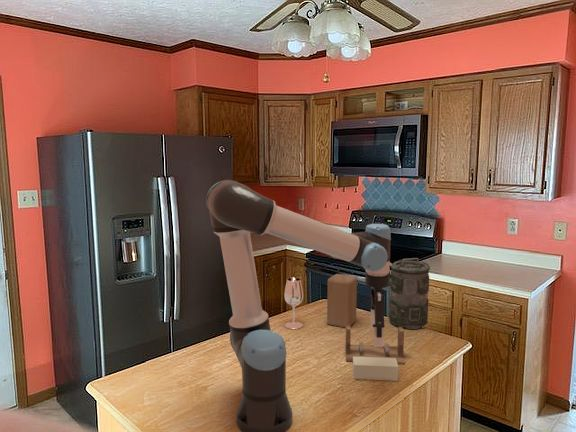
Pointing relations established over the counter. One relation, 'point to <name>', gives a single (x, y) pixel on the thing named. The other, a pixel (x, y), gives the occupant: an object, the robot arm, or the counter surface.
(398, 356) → the peg frame
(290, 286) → the wineglass
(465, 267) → the counter surface
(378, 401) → the counter surface
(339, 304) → the block
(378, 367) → the cream rectangular block
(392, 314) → the canister
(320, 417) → the counter surface
